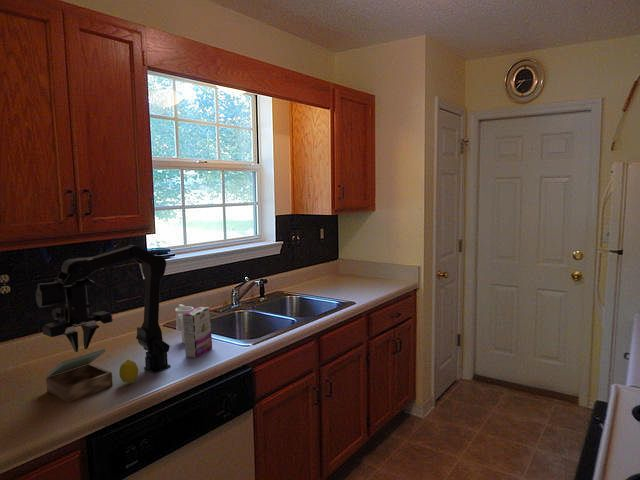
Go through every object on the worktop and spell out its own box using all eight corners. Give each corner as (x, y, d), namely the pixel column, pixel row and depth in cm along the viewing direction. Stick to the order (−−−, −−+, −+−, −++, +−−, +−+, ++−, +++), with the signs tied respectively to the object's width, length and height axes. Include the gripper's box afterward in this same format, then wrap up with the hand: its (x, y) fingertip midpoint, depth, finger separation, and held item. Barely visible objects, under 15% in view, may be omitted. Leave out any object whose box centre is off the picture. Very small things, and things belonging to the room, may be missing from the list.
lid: (89, 363, 156) (88, 361, 156) (105, 351, 148) (104, 348, 149) (47, 377, 145) (46, 374, 146) (63, 364, 138) (62, 361, 138)
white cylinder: (189, 338, 195) (187, 302, 193) (198, 341, 190) (196, 305, 188) (173, 342, 190) (171, 306, 188) (182, 346, 185) (180, 309, 183)
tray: (91, 376, 157) (90, 363, 156) (112, 386, 149) (111, 372, 149) (47, 391, 146) (45, 378, 145) (67, 402, 138) (66, 388, 137)
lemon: (141, 380, 153) (139, 356, 152) (135, 387, 148) (133, 362, 147) (124, 380, 153) (122, 356, 152) (117, 387, 148) (115, 363, 147)
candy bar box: (201, 347, 184) (199, 306, 182) (212, 348, 182) (210, 307, 180) (184, 357, 173) (182, 313, 171) (196, 358, 172) (193, 314, 170)
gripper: (93, 291, 155) (96, 337, 157) (31, 303, 140) (36, 354, 142) (111, 295, 148) (115, 343, 150) (49, 309, 133) (54, 362, 135)
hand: (81, 350), depth 144 cm, fingers open, 3 cm apart
